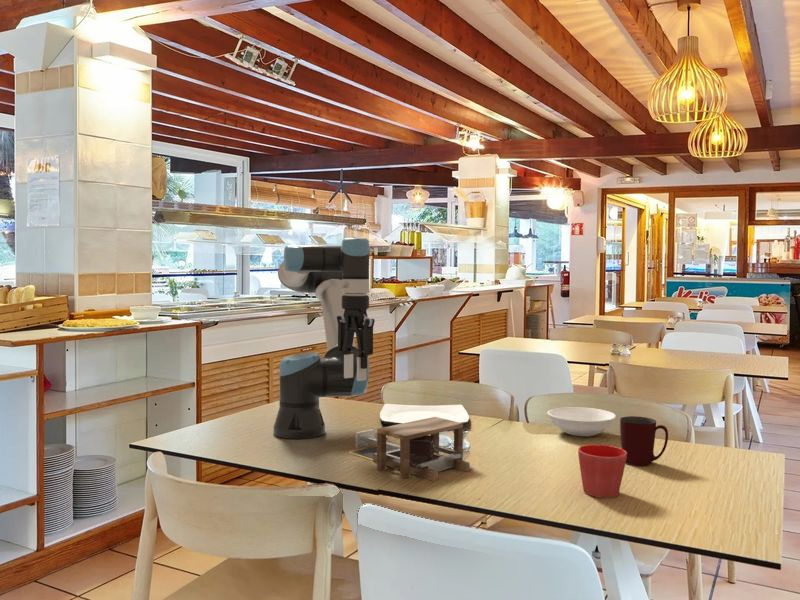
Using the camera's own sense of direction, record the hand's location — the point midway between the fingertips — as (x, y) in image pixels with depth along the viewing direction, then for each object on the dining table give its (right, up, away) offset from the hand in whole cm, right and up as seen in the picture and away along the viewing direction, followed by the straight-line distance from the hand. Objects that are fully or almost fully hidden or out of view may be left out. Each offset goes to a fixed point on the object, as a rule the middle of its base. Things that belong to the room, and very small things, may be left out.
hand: (355, 378), depth 208 cm
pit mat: (+6, -19, -6) cm, 21 cm away
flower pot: (+58, -22, -38) cm, 72 cm away
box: (+18, -20, -18) cm, 32 cm away
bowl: (+66, -19, +17) cm, 71 cm away
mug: (+75, -21, -13) cm, 79 cm away
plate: (+20, -17, +35) cm, 44 cm away
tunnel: (+18, -20, -18) cm, 32 cm away
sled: (+13, -19, -12) cm, 26 cm away
